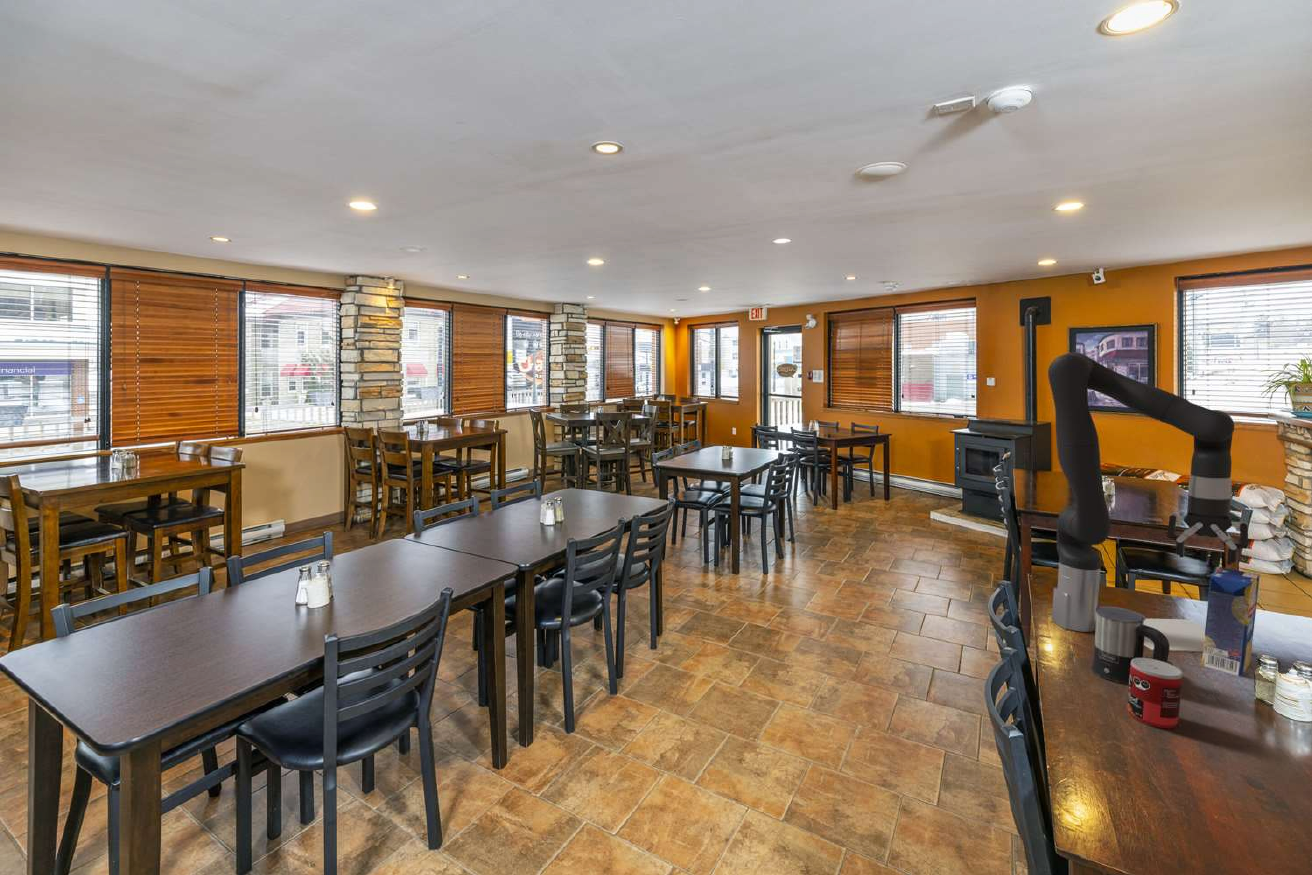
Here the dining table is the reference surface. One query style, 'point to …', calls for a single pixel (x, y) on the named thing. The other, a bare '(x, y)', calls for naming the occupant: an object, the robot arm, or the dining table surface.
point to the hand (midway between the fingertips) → (1205, 560)
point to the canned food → (1154, 692)
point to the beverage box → (1230, 620)
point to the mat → (1178, 634)
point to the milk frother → (1123, 642)
